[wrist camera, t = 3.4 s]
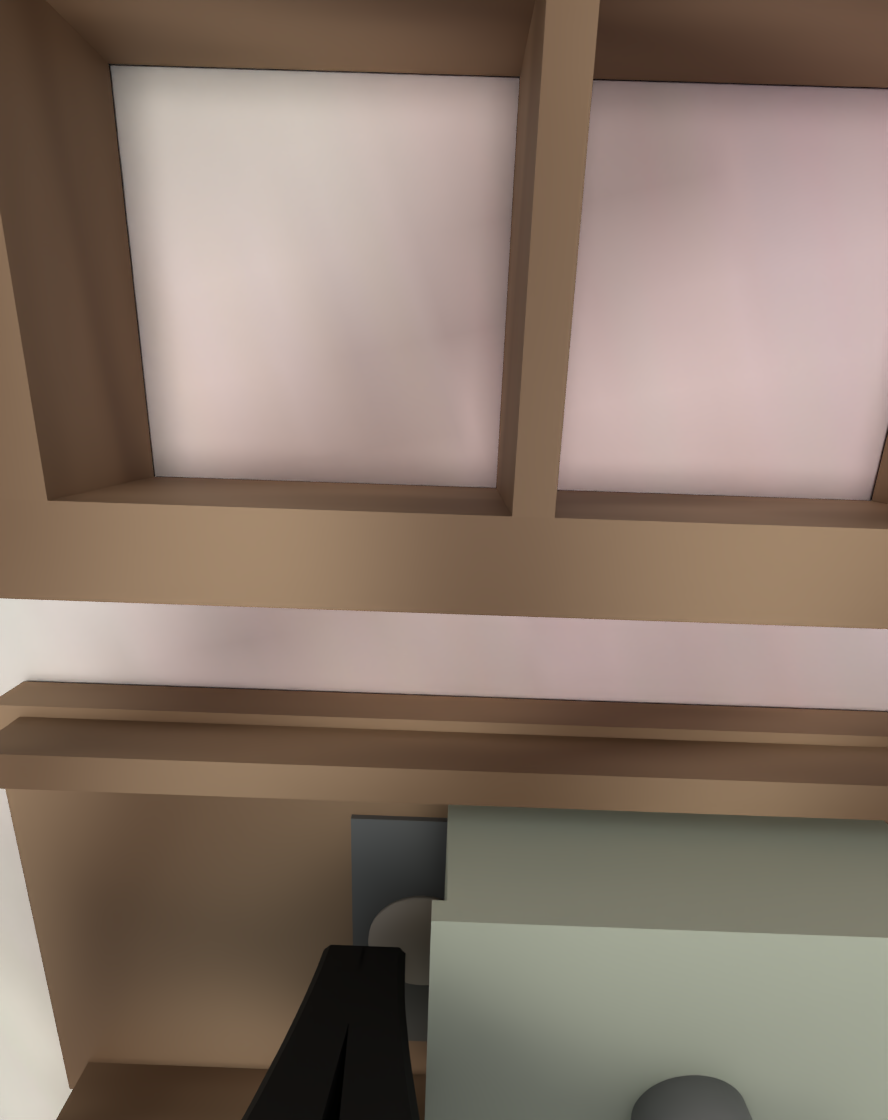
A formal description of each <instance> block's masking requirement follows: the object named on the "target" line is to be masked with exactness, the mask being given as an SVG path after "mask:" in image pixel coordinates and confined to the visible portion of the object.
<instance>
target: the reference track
mask: <svg viewBox="0 0 888 1120" xmlns="http://www.w3.org/2000/svg"><path fill="white" fill-rule="evenodd" d="M0 788H2V789H6V794H7V798H8V803H9V808H10V812H11V817H12V822H13V826H14V831H15V836H16V840H17V845H18V850H19V854H20V859H21V864H22V868H23V873H24V878H25V882H26V887H27V892H28V896H29V901H30V906H31V910H32V915H33V920H34V924H35V929H36V934H37V938H38V943H39V948H40V952H41V957H42V962H43V966H44V971H45V976H46V980H47V985H48V990H49V994H50V999H51V1004H52V1008H53V1013H54V1018H55V1022H56V1027H57V1032H58V1036H59V1041H60V1046H61V1050H62V1055H63V1060H64V1064H65V1069H66V1074H67V1078H68V1083H69V1088H70V1089H73V1090H72V1092H71V1094H70V1096H69V1098H68V1099H67V1101H66V1103H65V1105H64V1107H63V1108H62V1110H61V1112H60V1114H59V1116H58V1117H57V1119H56V1120H241V1119H242V1118H243V1116H244V1114H245V1112H246V1110H247V1109H248V1107H249V1105H250V1103H251V1101H252V1099H253V1098H254V1096H255V1094H256V1092H257V1090H258V1088H259V1086H260V1084H261V1082H262V1080H263V1079H264V1077H265V1075H266V1073H267V1071H268V1069H269V1067H270V1065H271V1063H272V1061H273V1060H274V1058H275V1056H276V1054H277V1052H278V1050H279V1048H280V1046H281V1044H282V1042H283V1040H284V1038H285V1036H286V1034H287V1032H288V1030H289V1028H290V1026H291V1024H292V1022H293V1020H294V1018H295V1016H296V1014H297V1012H298V1009H299V1007H300V1005H301V1003H302V1001H303V999H304V996H305V994H306V992H307V990H308V987H309V985H310V983H311V980H312V978H313V976H314V973H315V971H316V969H317V966H318V964H319V961H320V958H321V956H322V953H323V951H324V949H325V948H327V947H328V946H329V945H354V946H380V947H399V948H401V949H402V950H403V951H404V952H405V953H406V956H405V1009H406V1022H407V1032H408V1042H409V1051H410V1059H411V1067H412V1074H413V1080H414V1086H415V1093H416V1099H417V1105H418V1112H419V1118H420V1120H425V1094H426V1064H427V1033H428V1002H429V971H430V941H431V912H432V900H444V895H445V871H446V846H447V821H448V805H472V806H499V807H527V808H555V809H582V810H610V811H638V812H665V813H693V814H721V815H748V816H776V817H804V818H831V819H859V820H883V821H885V822H886V823H887V824H888V712H875V711H846V710H818V709H790V708H762V707H733V706H705V705H677V704H648V703H620V702H592V701H563V700H535V699H507V698H479V697H450V696H422V695H394V694H365V693H337V692H309V691H281V690H252V689H224V688H196V687H167V686H139V685H111V684H82V683H54V682H26V681H24V682H22V683H21V684H19V685H18V686H16V687H14V688H13V689H11V690H10V691H8V692H7V693H5V694H3V695H2V696H0Z"/></svg>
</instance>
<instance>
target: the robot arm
mask: <svg viewBox="0 0 888 1120" xmlns="http://www.w3.org/2000/svg"><path fill="white" fill-rule="evenodd" d="M405 956H406V953H405V952H404V951H403V950H402V949H401V948H399V947H380V946H354V945H329V946H328V947H327V948H325V949H324V951H323V953H322V956H321V958H320V961H319V964H318V966H317V969H316V971H315V973H314V976H313V978H312V980H311V983H310V985H309V987H308V990H307V992H306V994H305V996H304V999H303V1001H302V1003H301V1005H300V1007H299V1009H298V1012H297V1014H296V1016H295V1018H294V1020H293V1022H292V1024H291V1026H290V1028H289V1030H288V1032H287V1034H286V1036H285V1038H284V1040H283V1042H282V1044H281V1046H280V1048H279V1050H278V1052H277V1054H276V1056H275V1058H274V1060H273V1061H272V1063H271V1065H270V1067H269V1069H268V1071H267V1073H266V1075H265V1077H264V1079H263V1080H262V1082H261V1084H260V1086H259V1088H258V1090H257V1092H256V1094H255V1096H254V1098H253V1099H252V1101H251V1103H250V1105H249V1107H248V1109H247V1110H246V1112H245V1114H244V1116H243V1118H242V1119H241V1120H420V1118H419V1112H418V1105H417V1099H416V1093H415V1086H414V1080H413V1074H412V1067H411V1059H410V1051H409V1042H408V1032H407V1022H406V1009H405Z"/></svg>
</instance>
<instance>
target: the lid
mask: <svg viewBox="0 0 888 1120" xmlns="http://www.w3.org/2000/svg"><path fill="white" fill-rule="evenodd" d="M425 1120H888V824H887V823H886V822H885V821H883V820H859V819H831V818H804V817H776V816H748V815H721V814H693V813H665V812H638V811H610V810H582V809H555V808H527V807H499V806H472V805H448V821H447V846H446V871H445V895H444V900H432V912H431V941H430V971H429V1002H428V1033H427V1064H426V1094H425Z"/></svg>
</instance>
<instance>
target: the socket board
mask: <svg viewBox="0 0 888 1120" xmlns="http://www.w3.org/2000/svg"><path fill="white" fill-rule="evenodd" d="M109 64H129V65H161V66H194V67H227V68H260V69H292V70H325V71H358V72H390V73H423V74H456V75H489V76H520V82H519V99H518V117H517V134H516V152H515V169H514V186H513V204H512V221H511V238H510V256H509V273H508V291H507V308H506V325H505V343H504V360H503V378H502V395H501V412H500V430H499V447H498V465H497V482H496V488H478V487H449V486H419V485H390V484H360V483H330V482H301V481H271V480H241V479H212V478H182V477H154V472H153V463H152V454H151V445H150V436H149V427H148V417H147V408H146V399H145V390H144V381H143V372H142V363H141V353H140V344H139V335H138V326H137V317H136V308H135V299H134V289H133V280H132V271H131V262H130V253H129V244H128V235H127V226H126V216H125V207H124V198H123V189H122V180H121V171H120V162H119V152H118V143H117V134H116V125H115V116H114V107H113V98H112V89H111V79H110V70H109ZM593 79H619V80H652V81H685V82H718V83H750V84H783V85H816V86H849V87H881V88H888V0H0V598H9V599H38V600H66V601H95V602H124V603H153V604H182V605H211V606H239V607H268V608H297V609H326V610H355V611H383V612H412V613H441V614H470V615H499V616H528V617H556V618H585V619H614V620H643V621H672V622H700V623H729V624H758V625H787V626H816V627H845V628H873V629H888V435H887V439H886V443H885V447H884V451H883V455H882V460H881V464H880V468H879V472H878V476H877V480H876V484H875V488H874V492H873V497H872V501H864V500H834V499H805V498H775V497H745V496H716V495H686V494H656V493H627V492H597V491H567V490H557V485H558V474H559V462H560V451H561V439H562V428H563V416H564V405H565V393H566V382H567V371H568V359H569V348H570V336H571V325H572V313H573V302H574V290H575V279H576V268H577V256H578V245H579V233H580V222H581V210H582V199H583V188H584V176H585V165H586V153H587V142H588V130H589V119H590V107H591V96H592V85H593Z"/></svg>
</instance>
